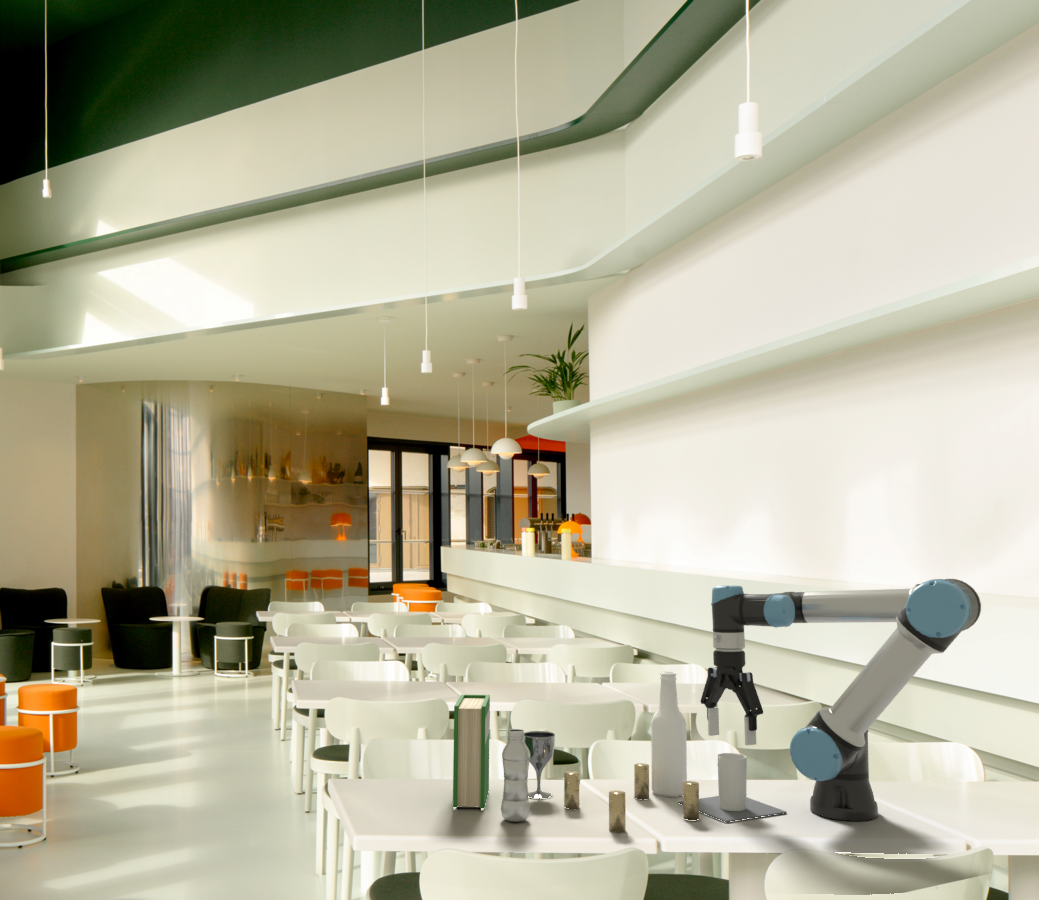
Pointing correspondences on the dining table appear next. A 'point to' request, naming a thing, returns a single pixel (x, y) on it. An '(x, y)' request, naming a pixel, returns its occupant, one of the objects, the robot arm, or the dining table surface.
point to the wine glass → (539, 755)
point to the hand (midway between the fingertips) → (731, 739)
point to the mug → (732, 781)
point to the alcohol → (668, 742)
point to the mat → (751, 811)
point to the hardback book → (471, 750)
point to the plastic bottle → (515, 777)
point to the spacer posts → (641, 792)
